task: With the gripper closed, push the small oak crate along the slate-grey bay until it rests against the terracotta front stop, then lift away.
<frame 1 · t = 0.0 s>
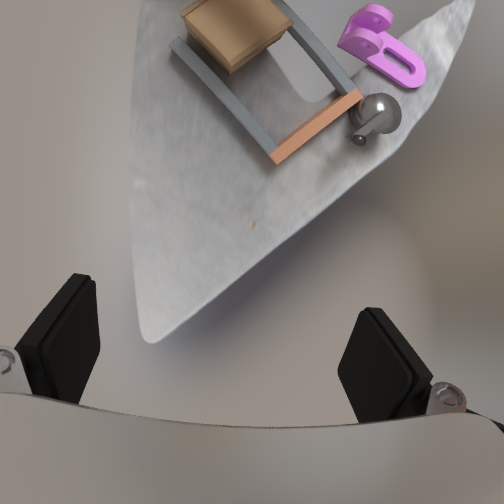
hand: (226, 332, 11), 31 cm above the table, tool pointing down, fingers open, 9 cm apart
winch: (366, 113, 38), on the table
bay: (263, 64, 34), on the table
crate: (234, 34, 33), on the table
bracket: (383, 55, 35), on the table
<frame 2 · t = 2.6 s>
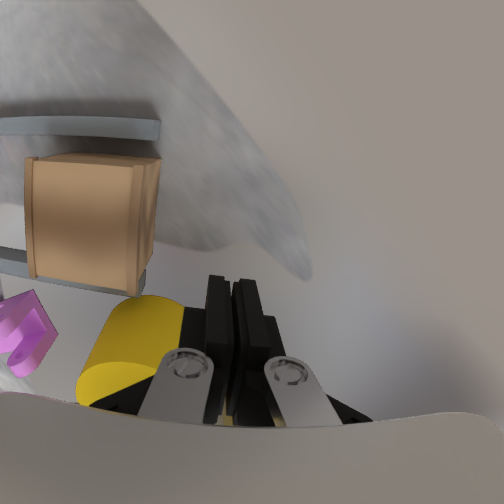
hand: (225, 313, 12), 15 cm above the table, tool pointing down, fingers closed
bay: (54, 196, 24), on the table
yellow roll: (154, 338, 30), on the table
crate: (110, 202, 25), on the table
bracket: (9, 322, 28), on the table
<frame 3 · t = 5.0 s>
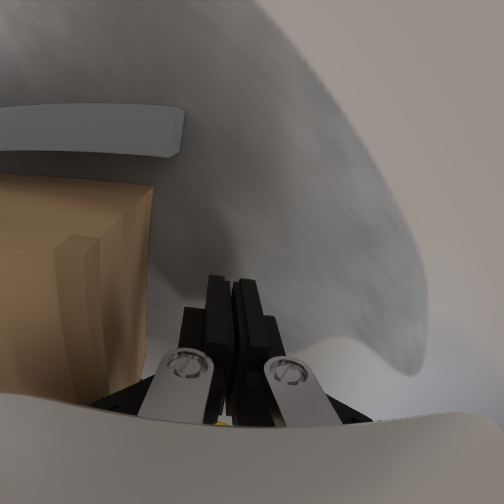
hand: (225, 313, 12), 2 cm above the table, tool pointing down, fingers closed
crate: (61, 268, 12), on the table, touching gripper
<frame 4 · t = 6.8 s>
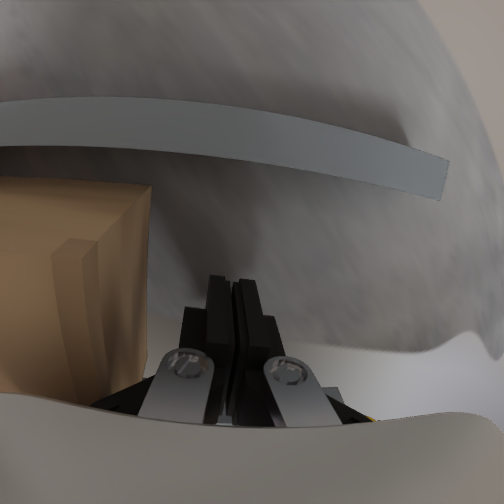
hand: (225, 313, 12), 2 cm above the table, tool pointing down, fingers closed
bay: (170, 284, 13), on the table
crate: (60, 270, 12), on the table, touching bay, gripper
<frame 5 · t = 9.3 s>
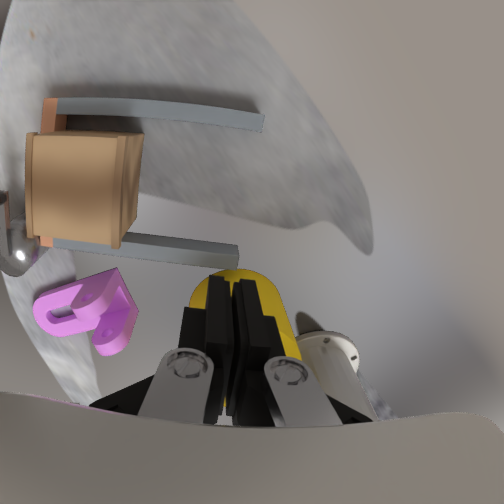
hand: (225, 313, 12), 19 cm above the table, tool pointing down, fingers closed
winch: (32, 234, 28), on the table
bay: (149, 177, 28), on the table
yellow roll: (235, 309, 35), on the table
crate: (99, 173, 27), on the table
bracket: (80, 303, 33), on the table
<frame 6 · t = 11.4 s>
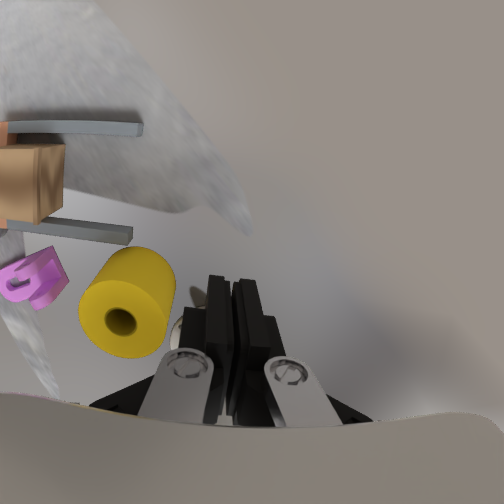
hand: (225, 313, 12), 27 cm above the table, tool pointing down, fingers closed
bay: (69, 176, 34), on the table
yellow roll: (138, 281, 41), on the table
crate: (38, 174, 34), on the table
bracket: (30, 274, 39), on the table
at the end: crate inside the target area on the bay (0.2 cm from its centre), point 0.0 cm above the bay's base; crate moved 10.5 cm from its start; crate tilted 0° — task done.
